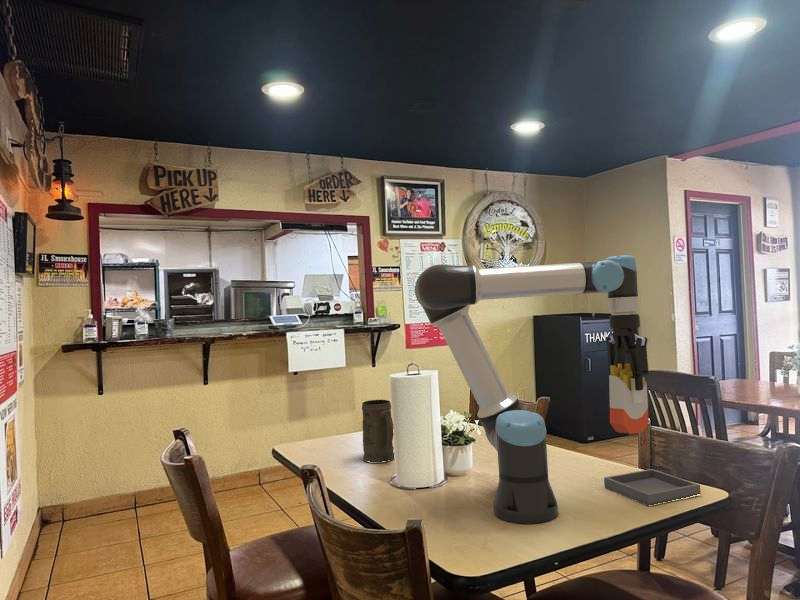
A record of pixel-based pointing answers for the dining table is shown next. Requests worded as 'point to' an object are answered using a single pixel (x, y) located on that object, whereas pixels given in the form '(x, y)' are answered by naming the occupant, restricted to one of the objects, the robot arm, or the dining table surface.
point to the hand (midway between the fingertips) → (629, 401)
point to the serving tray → (651, 486)
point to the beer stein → (377, 431)
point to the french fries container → (626, 402)
